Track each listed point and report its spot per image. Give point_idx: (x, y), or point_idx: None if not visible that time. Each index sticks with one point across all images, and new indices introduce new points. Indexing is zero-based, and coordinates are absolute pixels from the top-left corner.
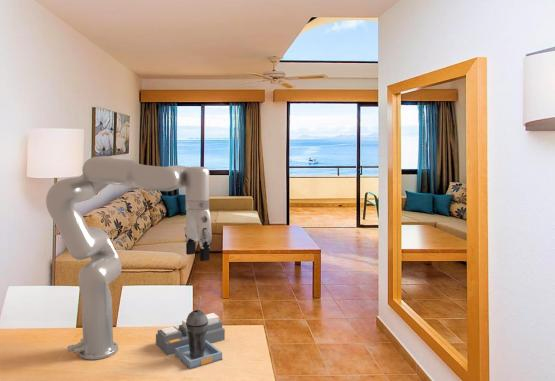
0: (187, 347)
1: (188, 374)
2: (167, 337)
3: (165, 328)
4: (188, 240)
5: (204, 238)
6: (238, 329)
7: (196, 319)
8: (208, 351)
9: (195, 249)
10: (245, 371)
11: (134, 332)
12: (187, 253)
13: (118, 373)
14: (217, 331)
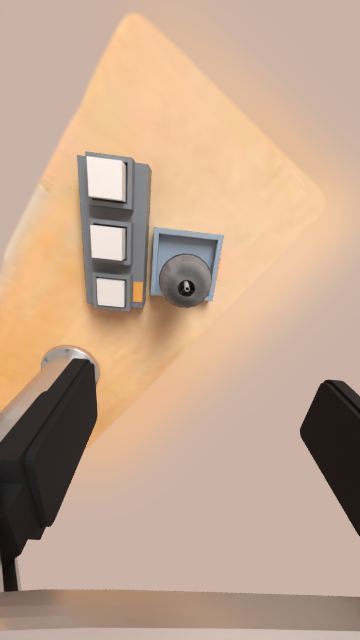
0: (156, 272)
1: (221, 306)
2: (130, 305)
3: (98, 296)
4: (18, 577)
5: (295, 599)
6: (118, 91)
7: (204, 298)
8: (183, 240)
9: (80, 386)
10: (284, 228)
11: (21, 301)
12: (93, 425)
13: (153, 372)
14: (147, 188)
